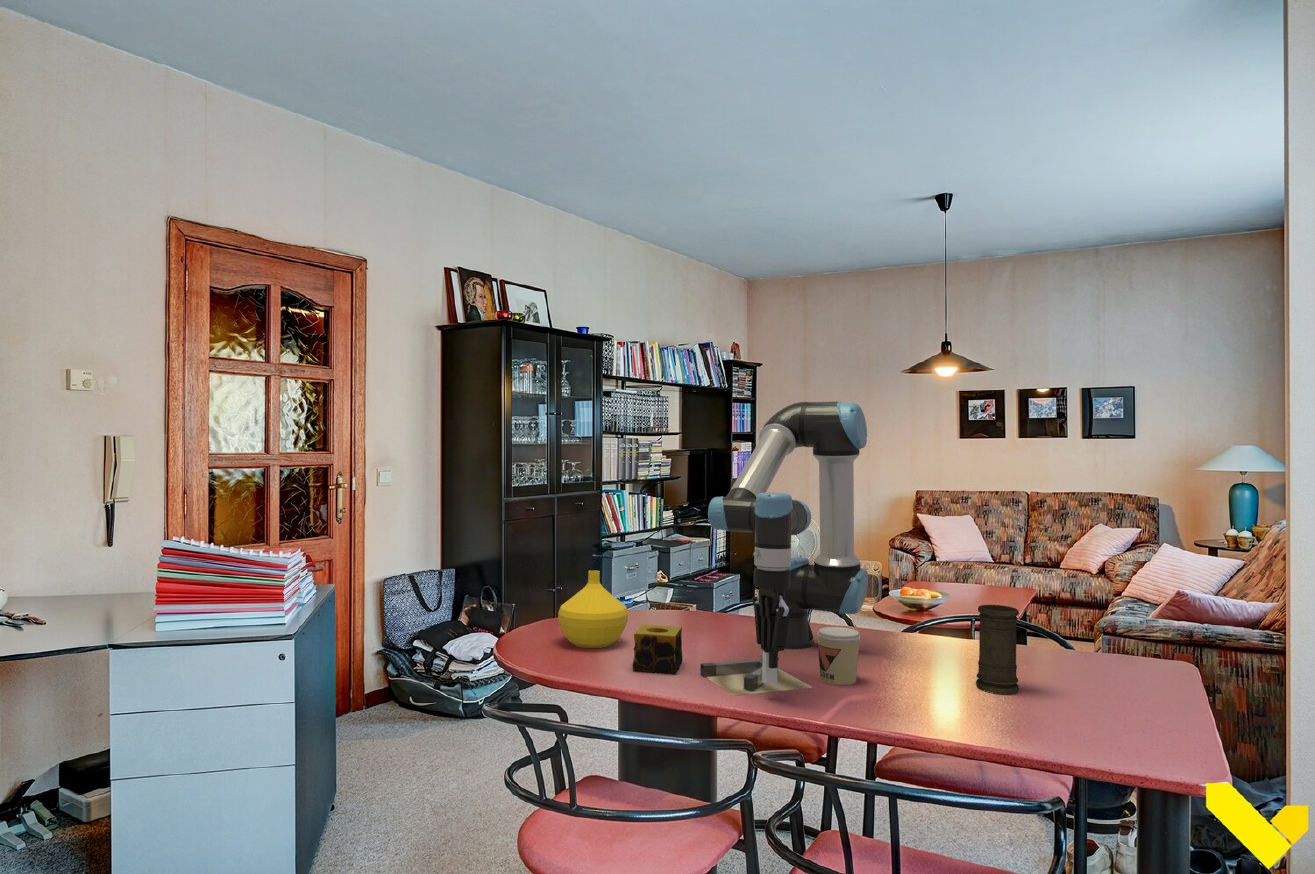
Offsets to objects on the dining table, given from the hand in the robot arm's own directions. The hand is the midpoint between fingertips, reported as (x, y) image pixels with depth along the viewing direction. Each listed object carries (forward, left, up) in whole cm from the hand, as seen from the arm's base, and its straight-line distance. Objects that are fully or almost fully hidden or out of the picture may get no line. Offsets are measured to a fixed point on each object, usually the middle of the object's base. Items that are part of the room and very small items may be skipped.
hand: (769, 682), depth 168 cm
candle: (+14, -28, -5) cm, 32 cm away
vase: (+21, -58, -5) cm, 62 cm away
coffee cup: (-21, -7, -5) cm, 23 cm away
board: (-3, -12, -4) cm, 13 cm away
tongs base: (-2, -17, -3) cm, 18 cm away
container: (-54, +6, -5) cm, 55 cm away
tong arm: (-4, -12, -3) cm, 13 cm away
